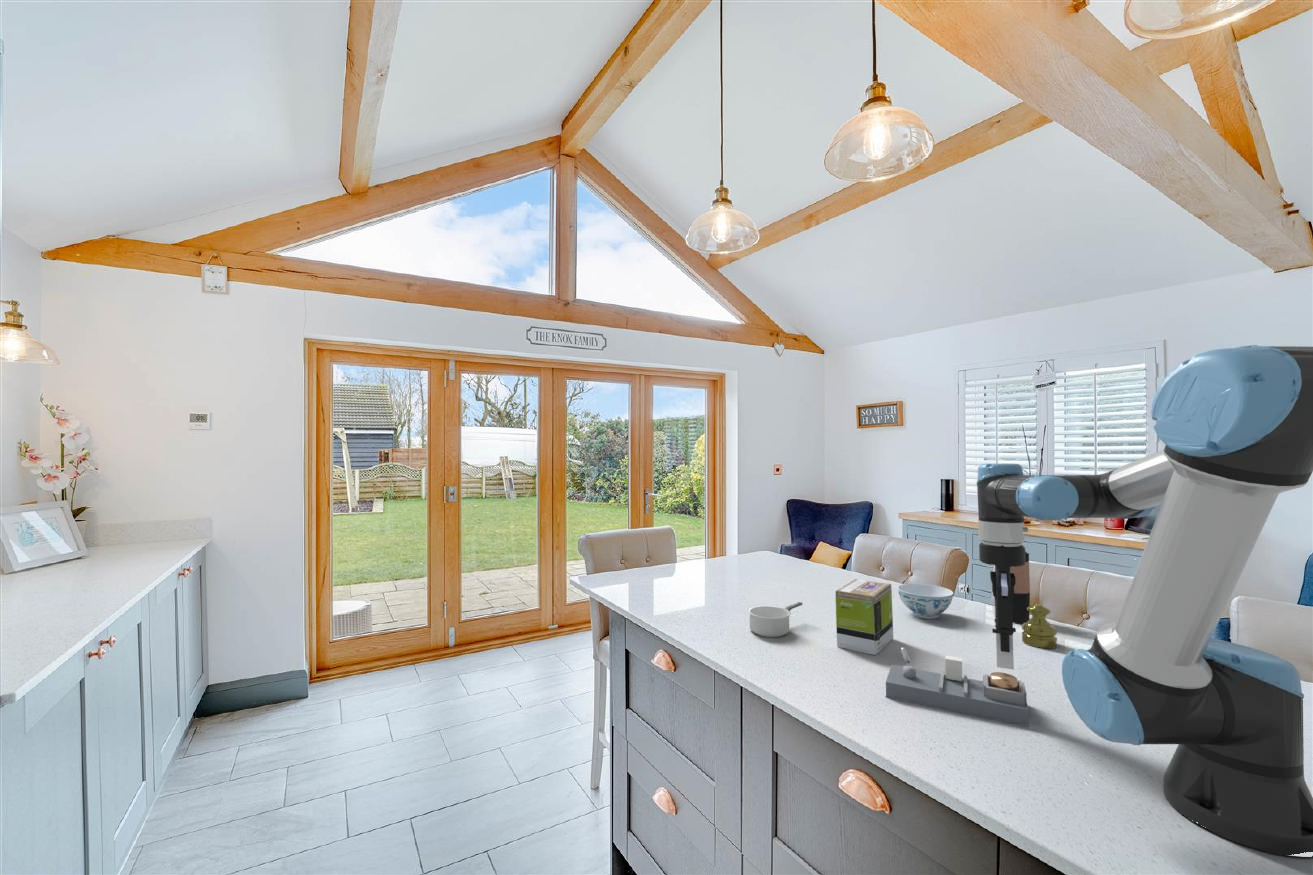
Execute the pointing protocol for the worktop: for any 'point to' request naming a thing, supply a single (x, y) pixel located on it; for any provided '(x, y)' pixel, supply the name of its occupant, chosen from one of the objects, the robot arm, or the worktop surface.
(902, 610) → the worktop surface
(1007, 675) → the push button
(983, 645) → the worktop surface
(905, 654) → the toggle lever
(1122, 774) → the worktop surface
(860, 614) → the tea box
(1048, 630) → the gold chess piece
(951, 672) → the white slider block
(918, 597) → the chinaware
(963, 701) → the control panel
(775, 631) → the saucepan
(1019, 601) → the travel mug
